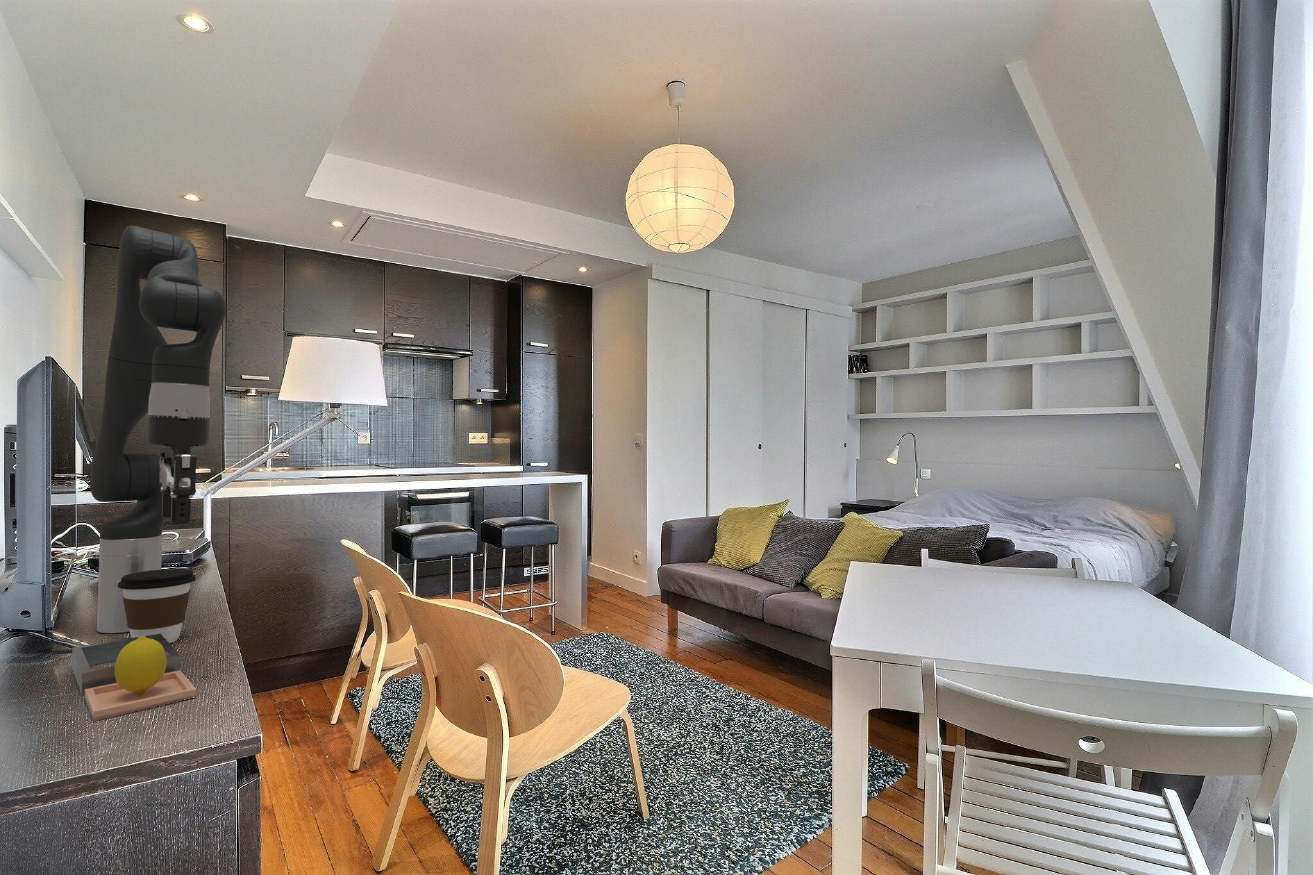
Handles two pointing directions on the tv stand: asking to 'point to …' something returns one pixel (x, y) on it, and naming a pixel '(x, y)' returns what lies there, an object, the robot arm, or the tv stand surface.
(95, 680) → the grey open box
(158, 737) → the tv stand surface
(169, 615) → the coffee cup
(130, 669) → the lemon
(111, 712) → the tray
